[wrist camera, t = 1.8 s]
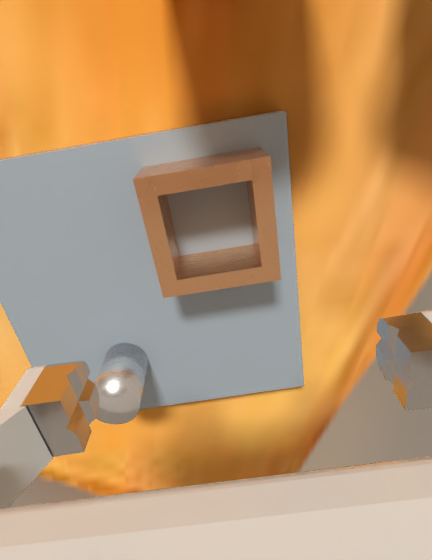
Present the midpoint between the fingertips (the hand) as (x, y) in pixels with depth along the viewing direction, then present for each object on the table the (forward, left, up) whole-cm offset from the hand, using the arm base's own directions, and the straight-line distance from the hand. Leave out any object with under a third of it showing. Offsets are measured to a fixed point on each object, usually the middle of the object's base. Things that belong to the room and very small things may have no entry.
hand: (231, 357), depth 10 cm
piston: (-8, -10, -14) cm, 19 cm away
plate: (-5, -5, -15) cm, 17 cm away
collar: (0, 0, -14) cm, 14 cm away
